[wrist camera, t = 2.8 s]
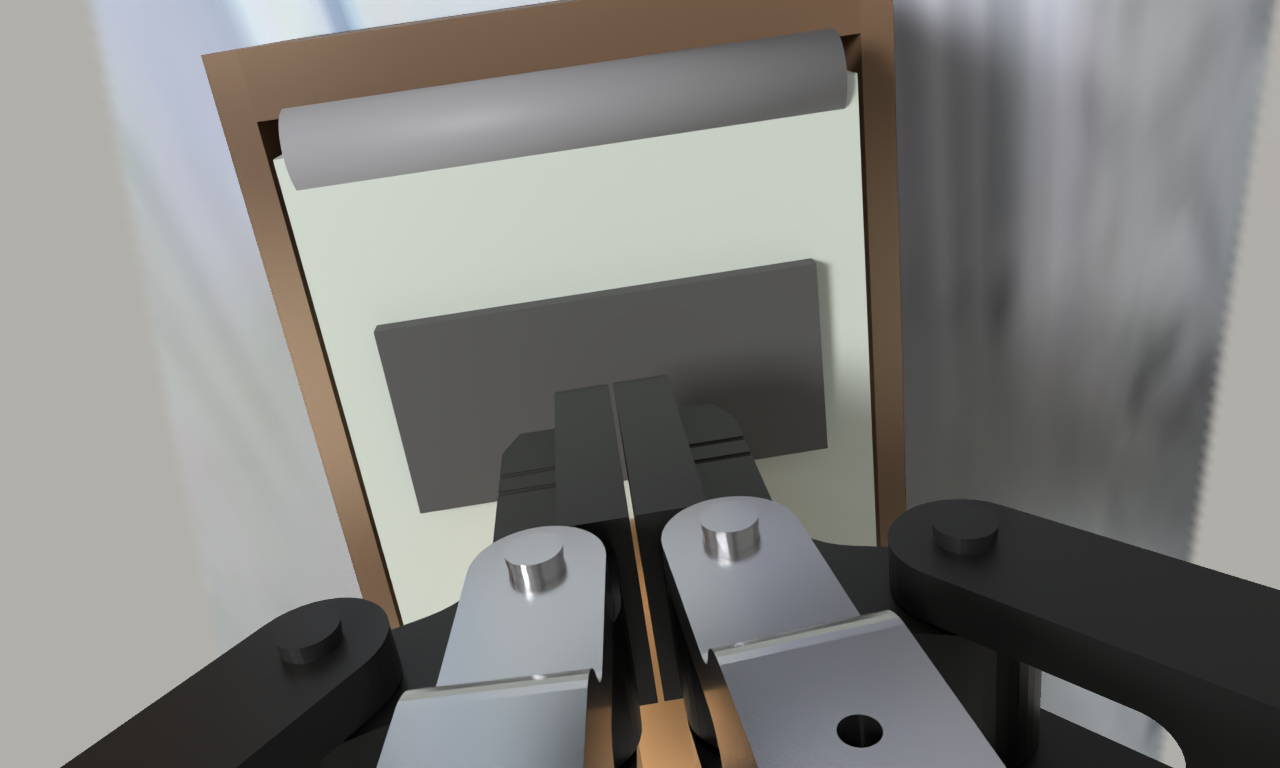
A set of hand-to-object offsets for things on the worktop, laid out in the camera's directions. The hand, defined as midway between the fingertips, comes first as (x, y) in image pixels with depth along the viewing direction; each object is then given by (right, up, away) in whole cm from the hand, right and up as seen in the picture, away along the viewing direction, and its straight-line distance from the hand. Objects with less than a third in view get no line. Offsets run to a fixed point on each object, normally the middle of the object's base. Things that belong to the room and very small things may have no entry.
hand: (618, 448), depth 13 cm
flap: (0, +1, +3) cm, 3 cm away
